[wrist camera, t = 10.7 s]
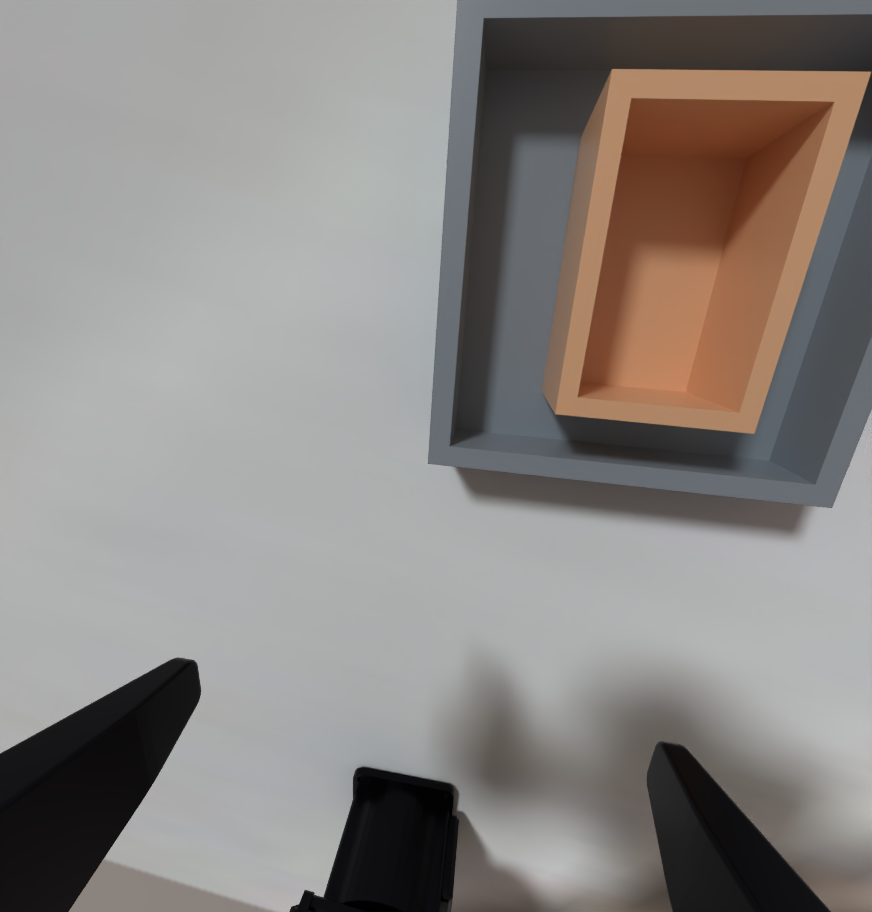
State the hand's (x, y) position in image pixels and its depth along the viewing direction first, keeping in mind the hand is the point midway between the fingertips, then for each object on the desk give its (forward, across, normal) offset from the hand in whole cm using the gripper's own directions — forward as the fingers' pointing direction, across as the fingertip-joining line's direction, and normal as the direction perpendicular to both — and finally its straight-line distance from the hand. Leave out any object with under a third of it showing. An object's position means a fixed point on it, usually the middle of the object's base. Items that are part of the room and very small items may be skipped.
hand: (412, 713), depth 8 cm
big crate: (+13, -6, -9) cm, 17 cm away
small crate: (+12, -6, -9) cm, 16 cm away
